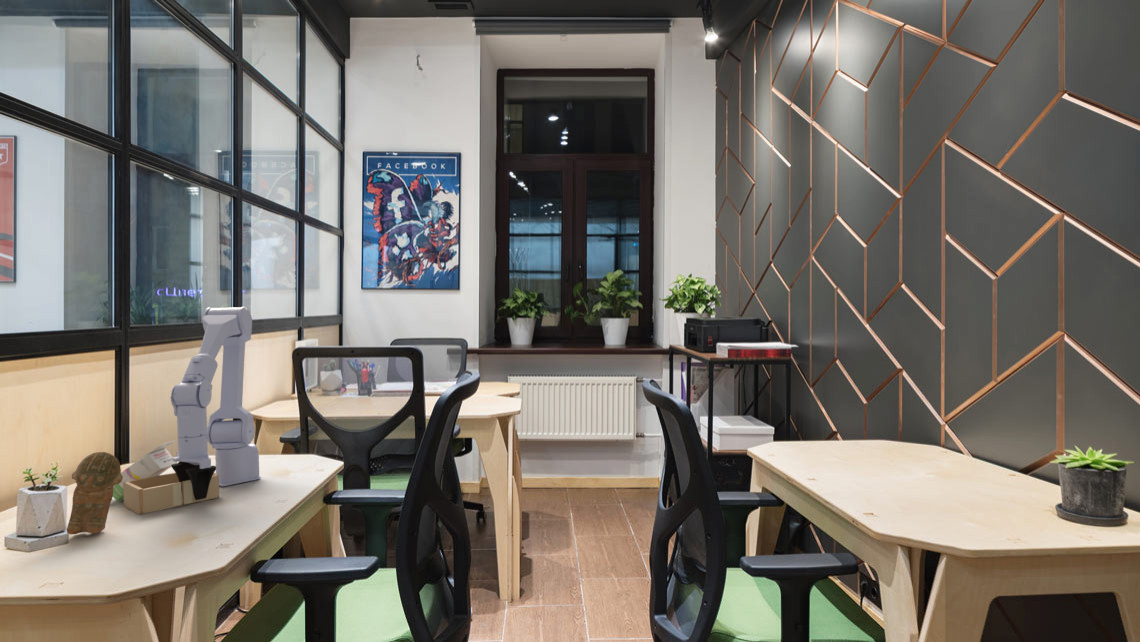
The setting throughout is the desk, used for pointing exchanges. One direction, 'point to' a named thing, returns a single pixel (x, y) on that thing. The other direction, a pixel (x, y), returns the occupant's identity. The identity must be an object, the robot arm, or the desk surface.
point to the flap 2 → (189, 496)
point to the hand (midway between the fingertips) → (194, 496)
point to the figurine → (93, 492)
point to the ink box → (145, 468)
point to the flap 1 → (162, 497)
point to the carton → (135, 492)
